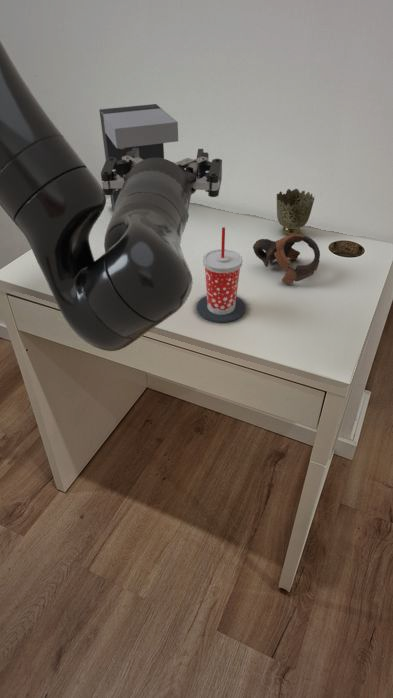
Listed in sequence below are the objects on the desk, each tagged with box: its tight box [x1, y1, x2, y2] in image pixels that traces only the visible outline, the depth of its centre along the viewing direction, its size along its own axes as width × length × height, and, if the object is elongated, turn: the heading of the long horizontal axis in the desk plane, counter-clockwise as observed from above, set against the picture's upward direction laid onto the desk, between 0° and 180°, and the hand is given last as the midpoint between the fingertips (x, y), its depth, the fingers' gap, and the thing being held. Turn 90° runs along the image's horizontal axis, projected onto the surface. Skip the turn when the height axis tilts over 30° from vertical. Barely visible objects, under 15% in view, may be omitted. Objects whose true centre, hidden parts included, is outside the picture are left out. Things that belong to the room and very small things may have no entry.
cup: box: [276, 188, 315, 236], centre depth 98 cm, size 8×7×8 cm
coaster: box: [196, 295, 247, 324], centre depth 80 cm, size 8×8×1 cm
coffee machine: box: [98, 103, 179, 212], centre depth 100 cm, size 14×12×21 cm
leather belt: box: [252, 233, 321, 286], centre depth 87 cm, size 12×10×8 cm
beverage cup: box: [202, 226, 243, 315], centre depth 75 cm, size 6×6×14 cm
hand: (168, 155), depth 63 cm, fingers open, 8 cm apart
